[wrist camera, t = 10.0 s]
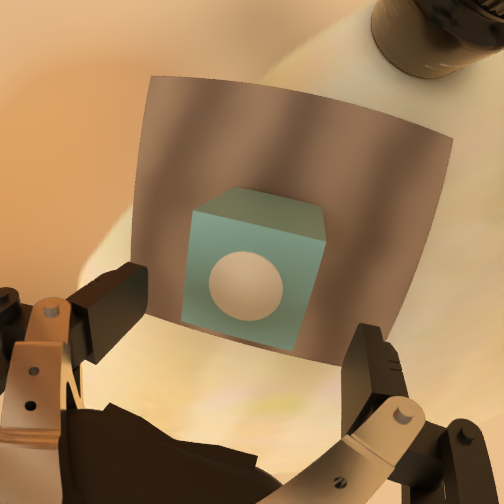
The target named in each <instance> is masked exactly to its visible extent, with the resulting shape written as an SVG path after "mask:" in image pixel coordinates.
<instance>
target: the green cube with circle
mask: <svg viewBox="0 0 504 504" xmlns="http://www.w3.org/2000/svg"><path fill="white" fill-rule="evenodd" d="M325 245H326V235H325V226H324V218H323V210H322V206H318V205H314V204H310V203H306V202H302V201H298V200H294V199H290V198H285V197H281V196H277V195H272V194H268V193H263V192H259V191H254V190H250V189H245V188H240V187H233V188H232V189H230V190H228V191H226V192H224V193H223V194H221V195H219V196H217V197H216V198H214V199H212V200H210V201H208V202H207V203H205V204H203V205H202V206H200V207H198V208H196V209H195V210H193V214H192V222H191V230H190V238H189V246H188V255H187V264H186V274H185V284H184V294H183V306H182V318H181V321H183V322H186V323H190V324H193V325H196V326H199V327H203V328H206V329H210V330H213V331H216V332H220V333H223V334H227V335H230V336H234V337H238V338H241V339H245V340H249V341H252V342H256V343H260V344H264V345H268V346H272V347H276V348H280V349H284V350H288V351H293V349H294V346H295V343H296V340H297V337H298V334H299V331H300V328H301V325H302V322H303V319H304V315H305V312H306V309H307V306H308V303H309V300H310V296H311V293H312V290H313V286H314V283H315V280H316V276H317V273H318V270H319V266H320V263H321V259H322V256H323V252H324V248H325Z"/></svg>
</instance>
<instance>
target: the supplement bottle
mask: <svg viewBox="0 0 504 504" xmlns="http://www.w3.org/2000/svg"><path fill="white" fill-rule="evenodd" d="M371 26H372V32H373V35H374V38H375V41H376V43H377V45H378V46H379V48H380V49H381V51H382V52H383V54H384V55H385V56H386V57H387V58H388V59H389V60H390V61H391V62H392V63H393V64H395V65H396V66H397V67H399V68H400V69H402V70H404V71H405V72H407V73H409V74H412V75H415V76H418V77H423V78H438V77H442V76H445V75H447V74H450V73H452V72H454V71H456V70H459V69H461V68H463V67H465V66H467V65H470V64H472V63H474V62H476V61H479V60H481V59H483V58H486V57H488V56H490V55H493V54H495V53H497V52H500V51H502V50H504V0H378V1H377V4H376V6H375V8H374V11H373V14H372V19H371Z"/></svg>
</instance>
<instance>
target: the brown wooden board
mask: <svg viewBox="0 0 504 504" xmlns="http://www.w3.org/2000/svg"><path fill="white" fill-rule="evenodd" d="M452 143H453V138H450V137H448V136H445V135H443V134H440V133H438V132H435V131H433V130H430V129H428V128H425V127H422V126H420V125H417V124H414V123H411V122H409V121H406V120H403V119H400V118H397V117H394V116H391V115H388V114H384V113H381V112H378V111H375V110H371V109H368V108H364V107H361V106H357V105H354V104H350V103H346V102H342V101H338V100H334V99H330V98H326V97H322V96H317V95H313V94H308V93H303V92H298V91H293V90H288V89H282V88H276V87H270V86H264V85H257V84H250V83H243V82H234V81H226V80H216V79H204V78H191V77H171V76H151V79H150V84H149V89H148V94H147V100H146V106H145V112H144V118H143V125H142V132H141V138H140V145H139V153H138V162H137V171H136V181H135V191H134V204H133V218H132V236H131V262H132V263H136V264H139V265H142V266H146V267H147V269H148V305H147V309H146V312H145V313H146V314H149V315H151V316H154V317H157V318H160V319H163V320H166V321H169V322H172V323H176V324H179V325H182V326H185V327H188V328H191V329H195V330H198V331H201V332H204V333H208V334H211V335H214V336H218V337H221V338H225V339H228V340H232V341H236V342H239V343H243V344H247V345H250V346H254V347H258V348H262V349H266V350H270V351H274V352H278V353H282V354H286V355H290V356H295V357H299V358H303V359H308V360H312V361H317V362H322V363H326V364H331V365H336V366H341V367H342V363H343V360H344V357H345V354H346V352H347V350H348V347H349V345H350V343H351V340H352V338H353V335H354V333H355V331H356V328H357V326H358V324H359V323H365V324H370V325H374V326H379V327H380V329H381V332H382V336H383V340H384V342H385V341H386V339H387V337H388V335H389V333H390V331H391V329H392V326H393V324H394V322H395V320H396V317H397V315H398V313H399V311H400V308H401V306H402V304H403V301H404V299H405V297H406V294H407V292H408V289H409V287H410V284H411V282H412V279H413V277H414V274H415V271H416V269H417V266H418V263H419V261H420V258H421V255H422V252H423V249H424V246H425V243H426V240H427V237H428V234H429V231H430V228H431V225H432V222H433V219H434V215H435V212H436V208H437V205H438V201H439V198H440V194H441V191H442V187H443V183H444V179H445V175H446V171H447V166H448V162H449V158H450V153H451V148H452ZM233 187H240V188H245V189H250V190H254V191H259V192H263V193H268V194H272V195H277V196H281V197H285V198H290V199H294V200H298V201H302V202H306V203H310V204H314V205H318V206H322V210H323V218H324V226H325V235H326V245H325V248H324V252H323V256H322V259H321V263H320V266H319V270H318V273H317V276H316V280H315V283H314V286H313V290H312V293H311V296H310V300H309V303H308V306H307V309H306V312H305V315H304V319H303V322H302V325H301V328H300V331H299V334H298V337H297V340H296V343H295V346H294V349H293V351H288V350H284V349H280V348H276V347H272V346H268V345H264V344H260V343H256V342H252V341H249V340H245V339H241V338H238V337H234V336H230V335H227V334H223V333H220V332H216V331H213V330H210V329H206V328H203V327H199V326H196V325H193V324H190V323H186V322H183V321H181V318H182V306H183V294H184V284H185V274H186V264H187V255H188V246H189V238H190V230H191V222H192V214H193V210H195V209H196V208H198V207H200V206H202V205H203V204H205V203H207V202H208V201H210V200H212V199H214V198H216V197H217V196H219V195H221V194H223V193H224V192H226V191H228V190H230V189H232V188H233Z"/></svg>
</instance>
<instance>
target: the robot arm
mask: <svg viewBox="0 0 504 504" xmlns="http://www.w3.org/2000/svg"><path fill="white" fill-rule="evenodd" d="M147 305H148V269H147V267H146V266H142V265H139V264H136V263H132V262H127V263H125V264H124V265H122V266H121V267H120V268H118V269H117V270H113V271H110V272H106V273H103V274H102V275H100V276H99V277H97V278H96V279H95V280H94V281H91V282H90V283H88V285H85V286H84V287H82V288H81V289H80V290H78V291H77V292H75V293H74V294H72V295H71V296H70V297H68V298H67V299H62V298H59V297H49V298H44V299H42V300H40V301H38V302H37V303H36V304H35V305H34V306H31V305H27V304H22V303H20V298H19V293H18V291H16V290H15V289H13V288H8V287H3V288H0V395H1V394H2V393H3V392H4V391H5V393H4V400H3V407H2V414H1V423H0V504H365V503H366V502H367V501H368V500H369V499H370V498H371V497H372V496H373V494H374V493H375V492H376V491H377V490H378V489H379V487H380V486H381V485H382V484H383V483H384V482H385V480H386V479H388V480H391V481H394V482H397V483H400V484H401V486H402V504H499V502H498V496H497V491H496V486H495V481H494V476H493V472H492V467H491V464H490V459H489V455H488V451H487V448H486V444H485V440H484V437H483V434H482V432H481V430H480V429H479V427H478V426H477V425H476V424H474V423H473V422H471V421H469V420H467V419H455V420H453V421H452V422H451V423H450V424H449V426H448V427H447V428H445V427H442V426H439V425H436V424H433V423H430V422H428V421H426V420H425V414H424V411H423V410H422V408H421V407H420V406H419V405H418V404H417V403H416V402H415V401H413V400H411V399H409V396H408V392H407V388H406V384H405V380H404V376H403V372H402V368H401V364H400V360H399V357H398V353H397V351H396V350H395V349H394V347H393V346H392V345H391V344H390V343H389V342H384V340H383V336H382V332H381V329H380V327H379V326H374V325H370V324H365V323H359V324H358V326H357V328H356V331H355V333H354V335H353V338H352V340H351V343H350V345H349V347H348V350H347V352H346V354H345V357H344V360H343V363H342V369H341V395H342V419H341V440H340V441H338V442H337V443H336V444H335V445H334V446H333V447H331V448H330V449H329V450H328V451H327V452H326V453H324V454H323V455H322V456H321V457H320V458H318V459H317V460H316V461H315V462H313V463H312V464H311V465H310V466H308V467H307V468H306V469H304V470H303V471H302V472H301V473H299V474H298V475H297V476H295V477H294V478H292V479H291V480H290V481H289V482H287V483H286V484H284V485H282V484H281V483H280V482H279V481H278V480H277V479H276V478H274V477H273V476H272V475H270V474H268V473H267V472H265V471H264V470H262V469H260V468H258V467H256V466H255V465H256V461H257V458H258V456H256V455H252V454H248V453H244V452H240V451H237V450H233V449H230V448H226V447H223V446H219V445H211V444H202V443H194V442H186V441H179V440H175V439H173V438H171V437H170V436H168V435H167V434H165V433H164V432H162V431H161V430H159V429H158V428H156V427H155V426H153V425H152V424H151V423H149V422H148V421H146V420H145V419H143V418H142V417H140V416H138V415H135V414H133V413H131V412H129V411H127V410H124V409H122V408H120V407H118V406H116V405H114V404H112V403H109V404H108V405H107V406H106V408H105V409H104V410H103V411H101V410H94V409H84V401H83V382H82V366H81V363H82V362H83V361H84V360H87V361H89V362H91V363H93V364H95V365H97V364H98V363H99V361H100V360H101V359H102V358H103V357H104V356H105V355H106V354H107V353H108V352H109V351H110V350H111V349H112V348H113V347H114V346H115V345H116V344H117V343H118V342H119V341H120V339H121V338H122V337H123V336H124V335H125V334H126V333H127V332H128V331H129V330H130V329H131V328H132V327H133V326H134V325H135V324H136V323H137V322H138V321H139V320H140V319H141V318H142V317H143V315H144V314H145V312H146V309H147ZM444 486H445V491H444ZM445 496H446V499H445Z"/></svg>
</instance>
